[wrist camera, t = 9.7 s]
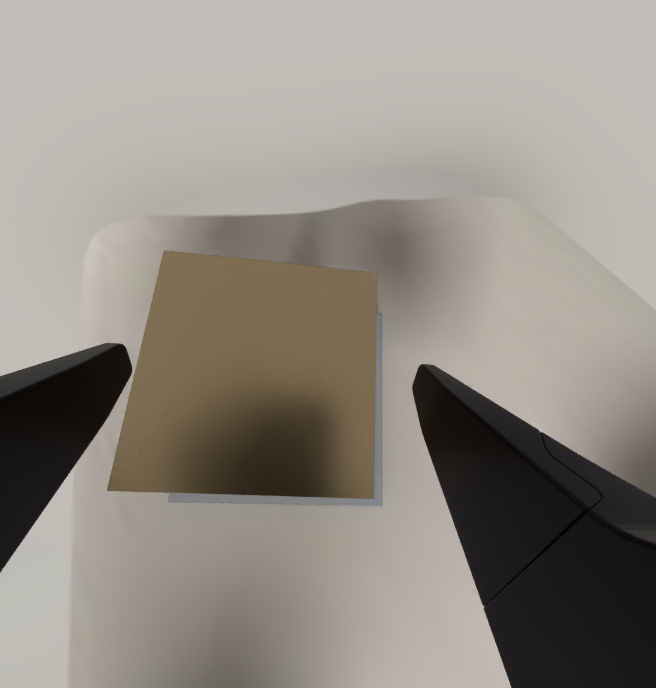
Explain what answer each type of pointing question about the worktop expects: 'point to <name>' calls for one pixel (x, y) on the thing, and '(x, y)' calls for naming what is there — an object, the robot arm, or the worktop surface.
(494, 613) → the robot arm
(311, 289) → the brown wooden block
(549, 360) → the worktop surface
